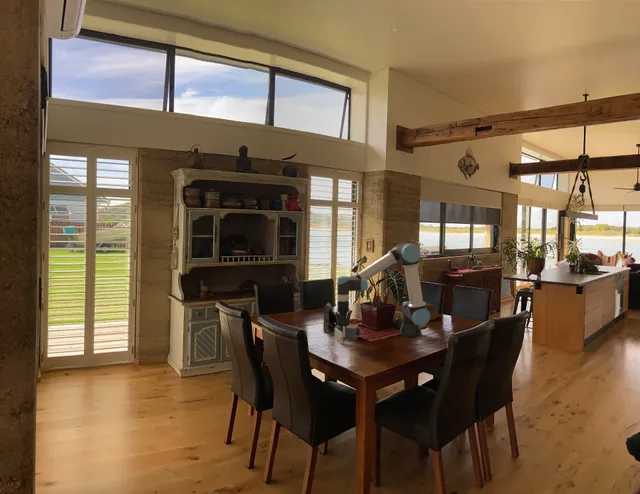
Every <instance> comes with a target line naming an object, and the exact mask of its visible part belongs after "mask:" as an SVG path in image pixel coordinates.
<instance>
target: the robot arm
mask: <svg viewBox="0 0 640 494" xmlns="http://www.w3.org/2000/svg"><path fill="white" fill-rule="evenodd" d="M420 257H421V249H420V248H419V247H418V246H417V245H415V244H414V243H408V242H402V243H399V244H397V245H396V246H394V247H393V248H391V249H390V250H388V252H387V253H386V254H385V255H383V256H382V257H380V258H378V259H377V260H376V261H374V262H372V263H371V264H370V265H368V266H366V267H365V268H363V269H362V270H360V271H359V272H357V273H356V274H354V275H350V276H347V275H340V276H337V280H336V281H337V282H336V284H337V285H336V287H337V288H336V289H337V292H336V293H337V295H336V299H337V304H336V305H337V306H336V307H337V309H336V311H333V312H334V314H335V317H336V321H337V325H338V326H340V331H341V332H342V333H343V337H345V331H346V327H347V325H350V321H351V315H352V313H353V310H351V309H350V301H349V300H350V292H357V291H358V292H364V291H367V290H368V287H369V283H368V280H370V279H371V278H372V277H374V276H376V275H377V274H379V273H380V272H382V271H383V270H385V269H387V268H389V267H390V266H392V265H393V264H397V263H398V262H400V264H401V267H403V269H404V274H405V281H406V287H407V293H408V299H409V301H404V302H402V307H401V308H402V315H401V316H402V317H401V319H402V321H401V325H400V329H399V333H400V334H399V335H400V336H402V337H406V338H419V337H422V335H423V331H422V328H421V326H425V325H426V324H428V322H429V321H431V320H430V313H429V311H428V310H427V308H426V303H425V302H426V301H423V300H424V299H423V292H422V285H421V280H420V273H419V267H418V266H419V264H420ZM338 314H339V315H338ZM339 316H340V319H339Z"/></svg>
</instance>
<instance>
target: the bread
mask: <svg viewBox="0 0 640 494" xmlns="http://www.w3.org/2000/svg"><path fill="white" fill-rule="evenodd" d="M424 302H425V303H426V308H427V310H428V311H429V313H430V320H429V321H433V320H436V319H437V318H438V316H439V311H438V309H437V308H436V306H435V305H434V304H432V303H430V302H428V301H424Z"/></svg>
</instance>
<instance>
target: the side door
mask: <svg viewBox="0 0 640 494" xmlns="http://www.w3.org/2000/svg"><path fill="white" fill-rule="evenodd" d="M333 339H335V340H336V341H337V342H339V343H340V344H341V345H343V344H344V339H343V333H342V332H341V331H339V330H338V329H337V328H335V329H334V338H333Z"/></svg>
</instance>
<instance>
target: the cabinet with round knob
mask: <svg viewBox="0 0 640 494" xmlns="http://www.w3.org/2000/svg"><path fill="white" fill-rule="evenodd" d="M335 325H336V324H335ZM335 328H337V329H338V330H339V331H340V326H338V325H336V326H335ZM361 333H362V329H361V328H360V327H359V325H358V324H349V325H347V327H346V331H345V337H343V341H344V340H346V341H357V340H358V338H359V336H361ZM357 337H358V338H357Z"/></svg>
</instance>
